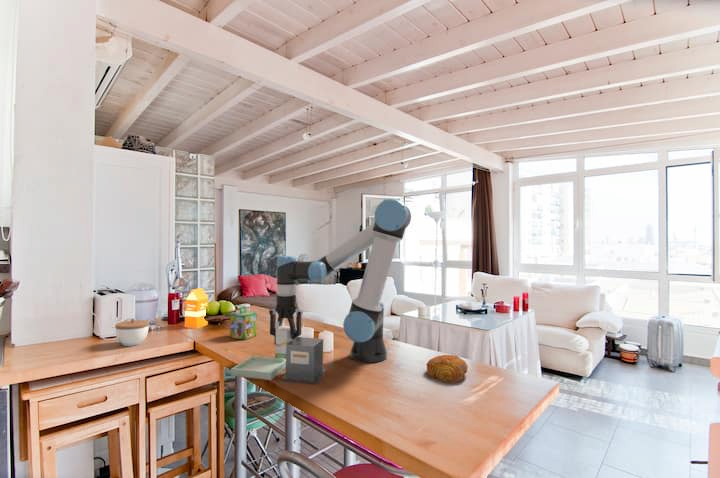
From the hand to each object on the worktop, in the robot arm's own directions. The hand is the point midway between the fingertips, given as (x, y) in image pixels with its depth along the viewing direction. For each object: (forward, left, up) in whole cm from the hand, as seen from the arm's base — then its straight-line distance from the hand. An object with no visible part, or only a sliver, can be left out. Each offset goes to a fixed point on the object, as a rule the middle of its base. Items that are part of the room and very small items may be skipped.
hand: (285, 353), depth 143 cm
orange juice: (+67, -38, -3) cm, 77 cm away
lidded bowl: (+72, -1, -3) cm, 72 cm away
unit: (-14, +15, -2) cm, 20 cm away
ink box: (0, 0, -2) cm, 2 cm away
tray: (+3, +14, -2) cm, 15 cm away
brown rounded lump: (-63, 0, -3) cm, 63 cm away
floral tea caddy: (+32, -25, -3) cm, 41 cm away
